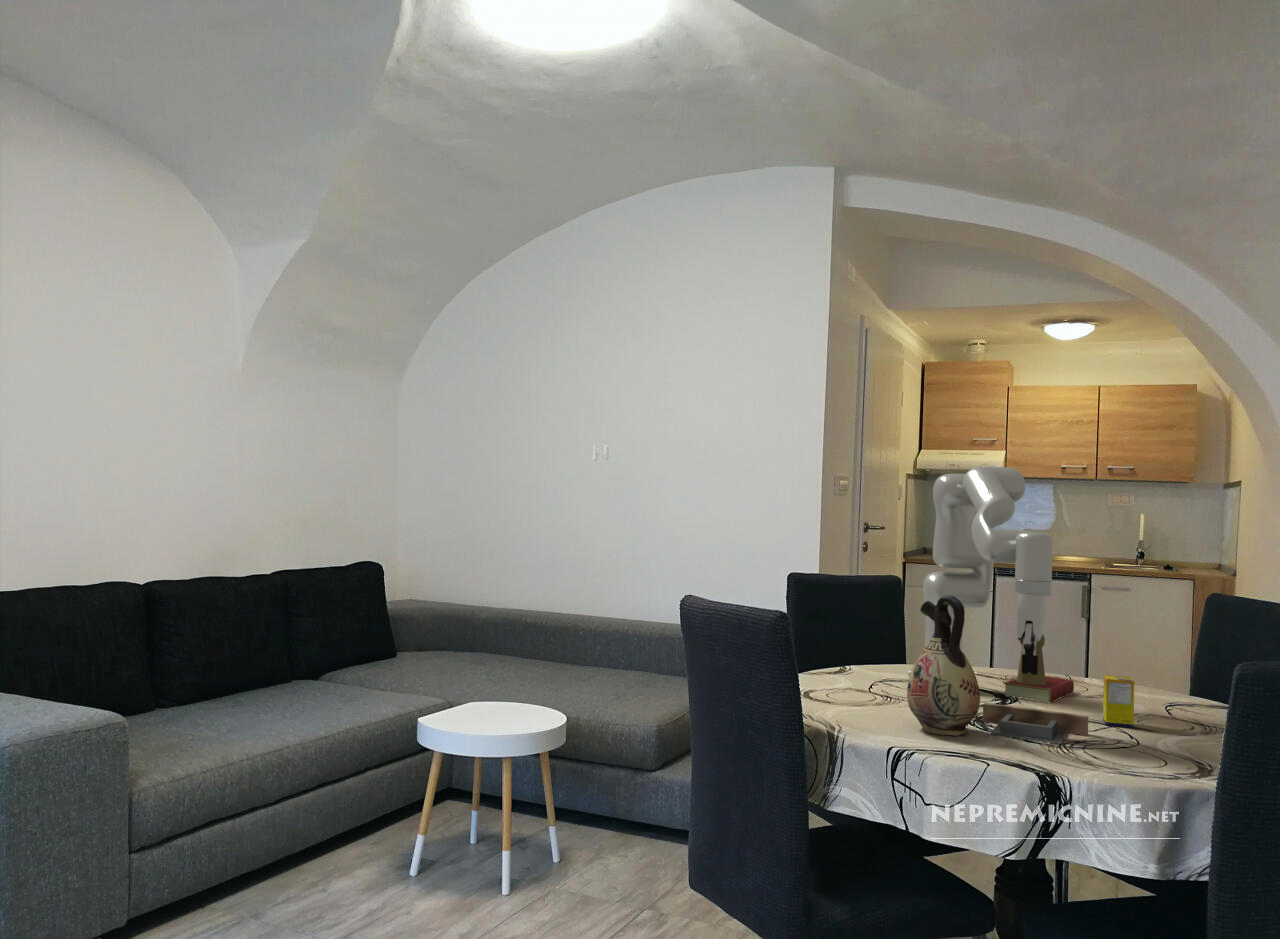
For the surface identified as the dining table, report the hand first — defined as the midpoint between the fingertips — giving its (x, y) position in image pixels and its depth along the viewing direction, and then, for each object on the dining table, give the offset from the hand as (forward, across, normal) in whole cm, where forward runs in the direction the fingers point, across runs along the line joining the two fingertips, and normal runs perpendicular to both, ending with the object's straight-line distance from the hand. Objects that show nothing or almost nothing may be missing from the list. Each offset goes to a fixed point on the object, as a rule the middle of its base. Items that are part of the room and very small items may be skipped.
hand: (1031, 671), depth 216 cm
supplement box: (+14, -25, +16) cm, 33 cm away
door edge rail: (+14, -8, 0) cm, 16 cm away
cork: (+2, 0, 0) cm, 2 cm away
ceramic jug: (+14, +10, -16) cm, 23 cm away
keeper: (+14, 0, 0) cm, 14 cm away
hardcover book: (+14, -53, -5) cm, 55 cm away
